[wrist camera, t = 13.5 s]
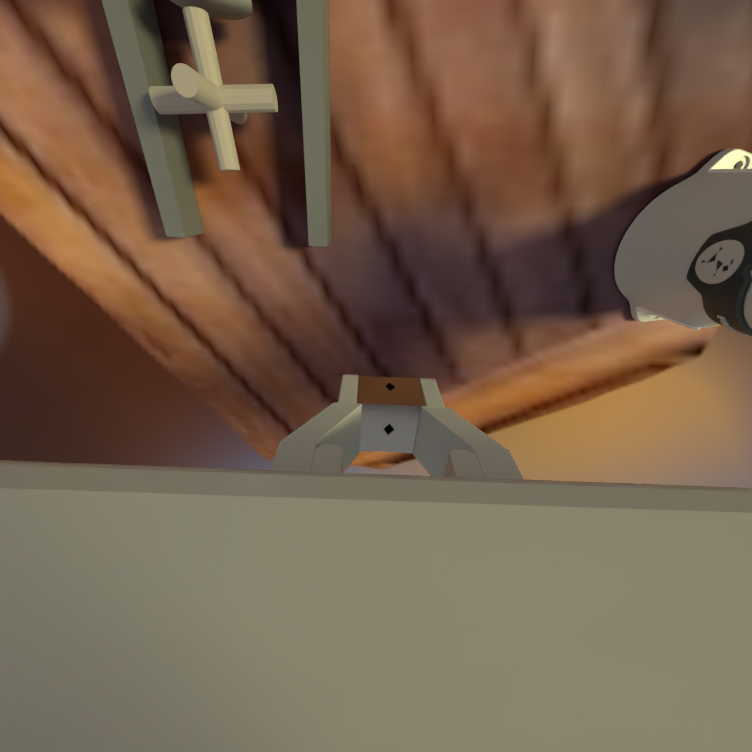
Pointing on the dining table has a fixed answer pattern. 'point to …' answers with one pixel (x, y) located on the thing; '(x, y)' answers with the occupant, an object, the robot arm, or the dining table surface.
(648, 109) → the dining table surface
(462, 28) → the dining table surface
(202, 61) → the pipe connector
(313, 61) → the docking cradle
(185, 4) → the rounded knob
